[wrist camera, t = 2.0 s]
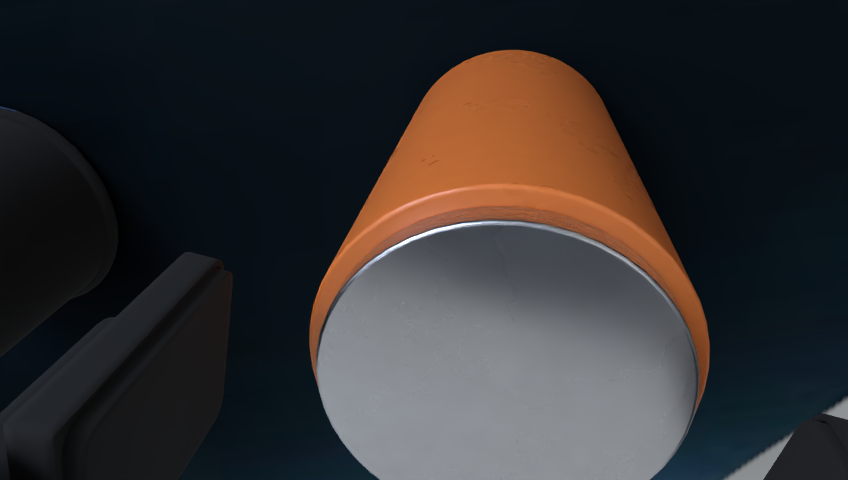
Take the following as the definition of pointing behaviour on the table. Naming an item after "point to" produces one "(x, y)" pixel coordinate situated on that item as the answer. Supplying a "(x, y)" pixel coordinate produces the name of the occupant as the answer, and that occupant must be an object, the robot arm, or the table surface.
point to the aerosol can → (47, 225)
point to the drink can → (509, 294)
